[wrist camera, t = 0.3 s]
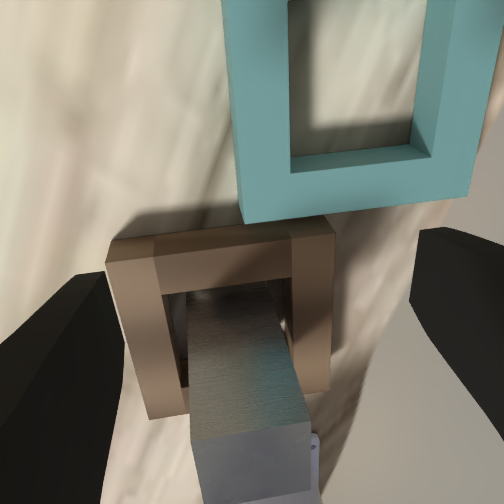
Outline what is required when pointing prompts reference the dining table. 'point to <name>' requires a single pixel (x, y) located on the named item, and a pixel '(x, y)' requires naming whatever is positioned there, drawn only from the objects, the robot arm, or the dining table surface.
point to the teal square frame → (365, 160)
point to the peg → (244, 398)
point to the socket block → (218, 275)
